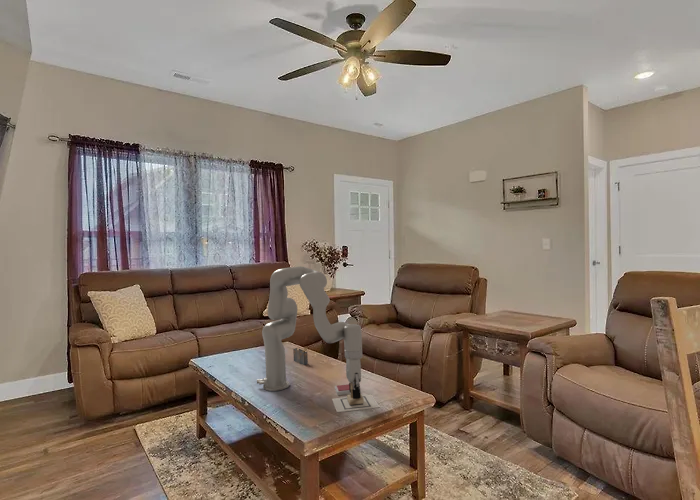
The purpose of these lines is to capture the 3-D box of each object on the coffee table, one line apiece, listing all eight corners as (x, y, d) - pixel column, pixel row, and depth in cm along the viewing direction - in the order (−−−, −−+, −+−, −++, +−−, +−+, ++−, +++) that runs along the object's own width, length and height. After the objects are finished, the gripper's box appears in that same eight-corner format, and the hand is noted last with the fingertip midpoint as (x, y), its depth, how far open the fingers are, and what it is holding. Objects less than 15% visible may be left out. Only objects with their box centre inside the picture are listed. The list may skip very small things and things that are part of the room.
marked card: (336, 412, 163) (336, 411, 163) (332, 399, 177) (332, 398, 177) (379, 407, 166) (379, 406, 166) (371, 395, 180) (371, 394, 180)
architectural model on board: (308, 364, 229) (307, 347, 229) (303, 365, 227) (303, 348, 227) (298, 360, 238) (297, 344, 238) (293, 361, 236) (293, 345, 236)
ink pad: (337, 395, 181) (337, 391, 181) (334, 388, 189) (334, 385, 189) (359, 392, 183) (358, 389, 183) (355, 386, 191) (355, 383, 191)
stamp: (349, 406, 168) (348, 383, 168) (347, 400, 174) (346, 378, 174) (363, 404, 169) (362, 382, 169) (360, 399, 175) (359, 377, 175)
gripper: (341, 349, 179) (342, 388, 179) (348, 360, 162) (350, 404, 162) (357, 347, 180) (359, 386, 181) (366, 358, 163) (368, 402, 164)
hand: (354, 394), depth 171 cm, fingers open, 7 cm apart
